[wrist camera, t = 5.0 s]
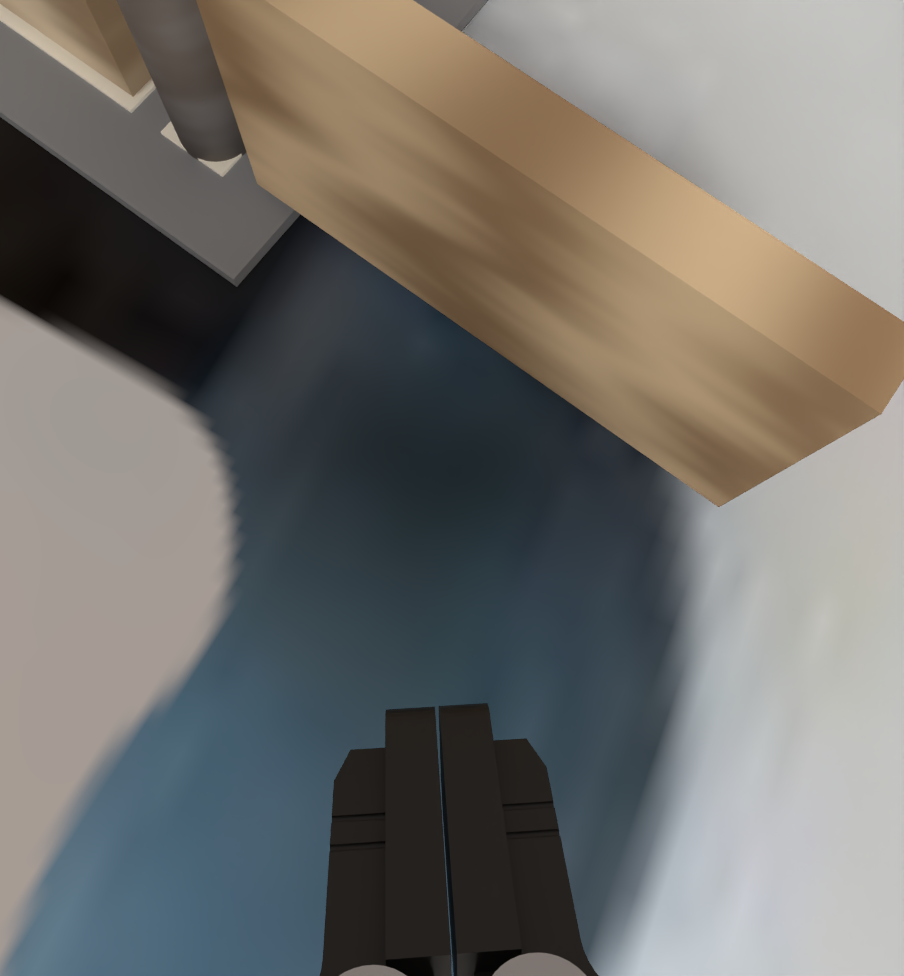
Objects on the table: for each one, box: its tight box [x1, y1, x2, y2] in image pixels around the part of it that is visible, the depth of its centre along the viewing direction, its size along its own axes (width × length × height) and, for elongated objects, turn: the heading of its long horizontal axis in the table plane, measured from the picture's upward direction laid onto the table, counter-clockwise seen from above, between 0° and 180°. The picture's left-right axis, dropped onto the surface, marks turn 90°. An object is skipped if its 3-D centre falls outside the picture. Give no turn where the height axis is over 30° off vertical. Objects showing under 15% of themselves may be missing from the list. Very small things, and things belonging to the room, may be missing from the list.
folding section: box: [196, 0, 904, 507], centre depth 17 cm, size 14×2×7 cm, turn 54°
